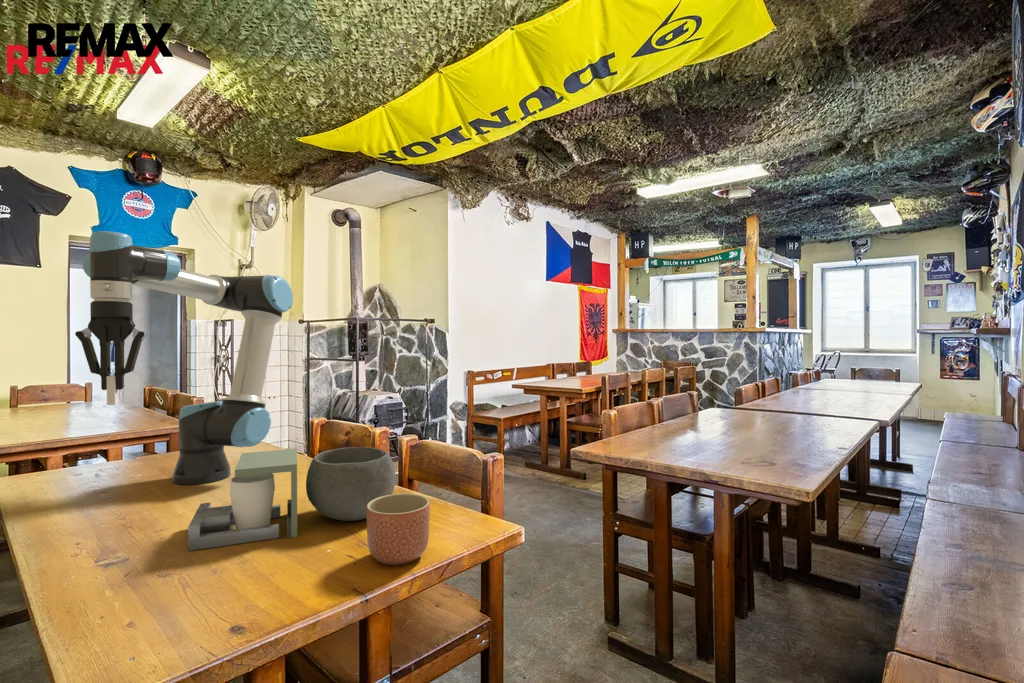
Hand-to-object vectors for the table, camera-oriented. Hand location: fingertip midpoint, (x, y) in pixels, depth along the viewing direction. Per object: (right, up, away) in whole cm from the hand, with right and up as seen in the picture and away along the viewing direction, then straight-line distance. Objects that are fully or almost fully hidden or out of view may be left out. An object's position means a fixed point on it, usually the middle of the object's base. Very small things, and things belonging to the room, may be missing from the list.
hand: (112, 404), depth 115 cm
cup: (+32, -29, -1) cm, 43 cm away
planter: (+69, -29, -14) cm, 76 cm away
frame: (+29, -29, -2) cm, 41 cm away
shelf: (+35, -29, 0) cm, 45 cm away
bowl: (+52, -29, +9) cm, 60 cm away
